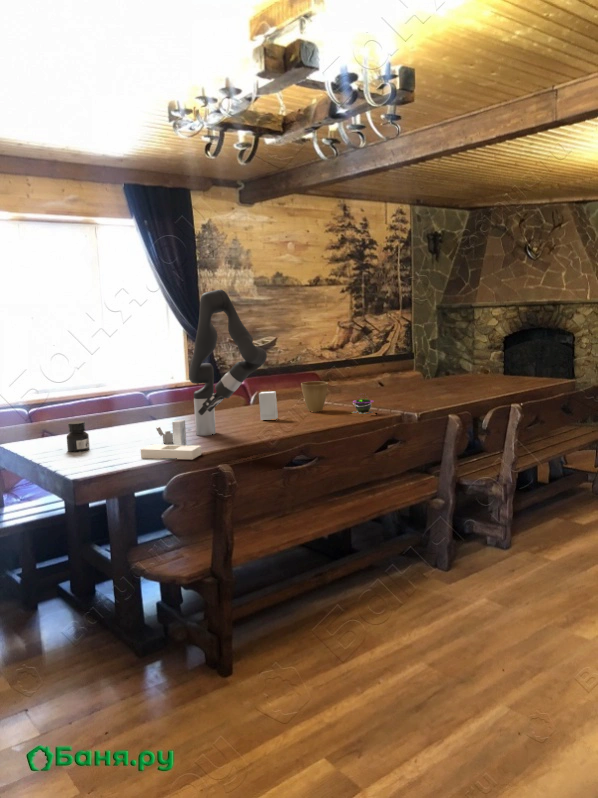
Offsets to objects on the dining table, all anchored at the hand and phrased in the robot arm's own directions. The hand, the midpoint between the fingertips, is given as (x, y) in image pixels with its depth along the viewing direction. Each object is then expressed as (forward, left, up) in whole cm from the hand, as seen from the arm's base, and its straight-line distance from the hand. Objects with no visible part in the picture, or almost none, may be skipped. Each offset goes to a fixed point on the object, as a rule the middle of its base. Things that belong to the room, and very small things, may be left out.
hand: (204, 412), depth 260 cm
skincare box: (-71, +5, -16) cm, 73 cm away
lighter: (-10, -24, -16) cm, 30 cm away
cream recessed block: (+12, -10, -16) cm, 22 cm away
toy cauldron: (-93, +52, -16) cm, 108 cm away
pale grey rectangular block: (0, -12, -16) cm, 20 cm away
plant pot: (-100, +23, -16) cm, 104 cm away
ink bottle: (+7, -56, -16) cm, 58 cm away
